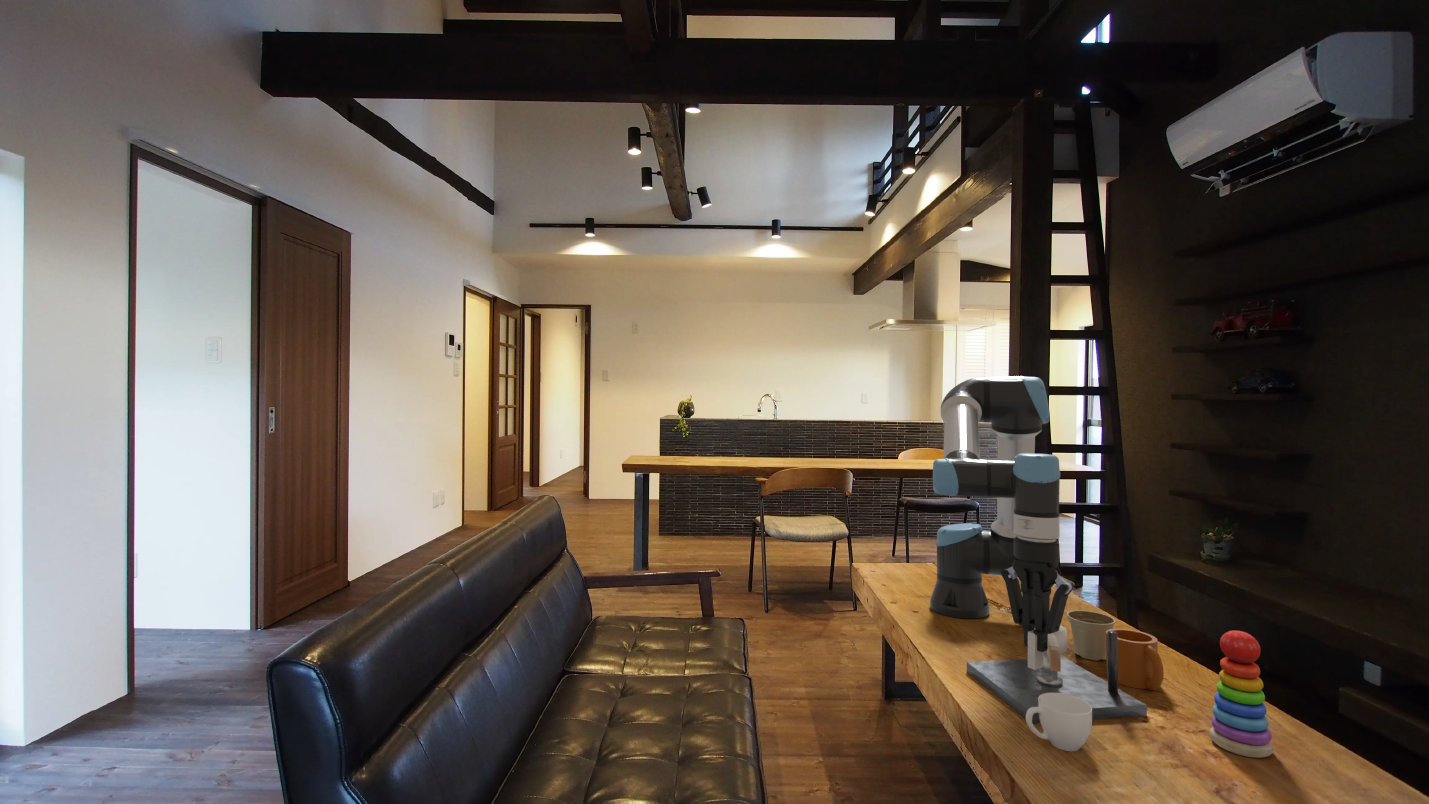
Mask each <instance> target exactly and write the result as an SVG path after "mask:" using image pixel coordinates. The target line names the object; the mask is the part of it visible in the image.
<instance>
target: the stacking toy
mask: <svg viewBox="0 0 1429 804" xmlns="http://www.w3.org/2000/svg"><path fill="white" fill-rule="evenodd" d="M1219 647H1220V649H1221V651H1222V653H1223V655H1224V656H1225V657H1223V658H1222V659H1220V662H1219V666H1220V667H1221V670H1220V672H1219V673H1218V677H1219V680H1220V681H1218V682H1217V684H1216V691H1217V692H1216V693H1215V694H1214V697H1213V700H1214V703H1215V704H1213V706H1212V710H1211V711H1212V714H1213V716H1212V717H1211V725H1212V726H1211V727H1210V729H1209V731H1208V733H1209V736H1210V737H1209V738H1210V739H1211V741H1213V743H1214V744H1215V745H1217V746H1219V748H1221V749H1223V750H1226V751H1228V752H1230V753H1232V754H1236V755H1239V756H1243V757H1248V758H1257V759H1258V758H1259V759H1262V758H1266V757H1267V758H1268V757H1269V756H1271V755H1273V752H1274V746H1273V744H1272V742H1271V740H1272V737H1273V736H1272V732H1271V730H1270V729H1269V719H1268V718H1267V717H1266V714H1267V711H1268V709H1267V706H1266V705H1265V703H1264V702H1265V700H1266V695H1265V694H1264V692H1263V688H1264V682H1263V680H1262V679H1261V678H1260V677H1259V676H1260V675H1261V669H1260V667H1259V665H1258V664H1257V663H1255V662H1256V661H1257V660H1258V659H1259V658H1260V655H1261V651H1262V650H1261V645H1260V644H1259V641H1258V640H1257V639H1256V638H1255V636H1252V635H1251V634H1250V633H1248V632H1246V631H1241V630H1229V631H1226V632H1225V633H1223V634H1222V636H1220V640H1219Z"/></svg>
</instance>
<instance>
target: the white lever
mask: <svg viewBox="0 0 1429 804" xmlns="http://www.w3.org/2000/svg"><path fill="white" fill-rule="evenodd" d="M1067 638H1068V633H1067V628H1066V627H1065V626H1062V625H1061V624H1060V628H1059V631H1057V632H1054V633H1051V634H1048V649H1047V651H1045V653H1047V656H1048V659H1049V663H1050V668H1051V671H1058V672H1061V657H1062V656H1061V655H1063V654H1066V653H1067V652H1068V643H1067V642H1068V641H1067V640H1068V639H1067Z"/></svg>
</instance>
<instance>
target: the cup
mask: <svg viewBox="0 0 1429 804" xmlns="http://www.w3.org/2000/svg"><path fill="white" fill-rule="evenodd" d="M1034 713H1039V719H1040V723H1039V724H1041V728H1042V731H1043V732H1041V731H1039V730H1038V729H1037V728H1036V727H1035V725H1034V723H1032V717H1033V714H1034ZM1025 722H1026V725H1027V727H1028V728H1029V730H1030V731H1031V732H1032V733H1033V734H1034V735H1036V736H1037V737H1039V738H1040V739H1042V740H1046V741H1047V740H1048V741H1049V742H1050V743H1051V745H1052V746H1054V747H1055V748H1056V749H1059V750H1062V751H1064V752H1065V751H1066V752H1077V751H1079V750H1080V749H1081V748H1082V747H1084V745H1085V743H1086V742H1087V740H1088V738H1089V737H1090V734H1091V731H1092V726H1093V725H1092V724H1093V720H1092V707H1091V706H1090V705H1089V704H1088V703H1087V702H1085V701H1084V700H1082V699H1080V698H1077V697H1074V696H1071V695H1067V694H1062V693H1044V694H1041V695H1040V696H1039V697H1038V707H1031V708H1029V709H1028V710H1027V713H1026V718H1025Z"/></svg>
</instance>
